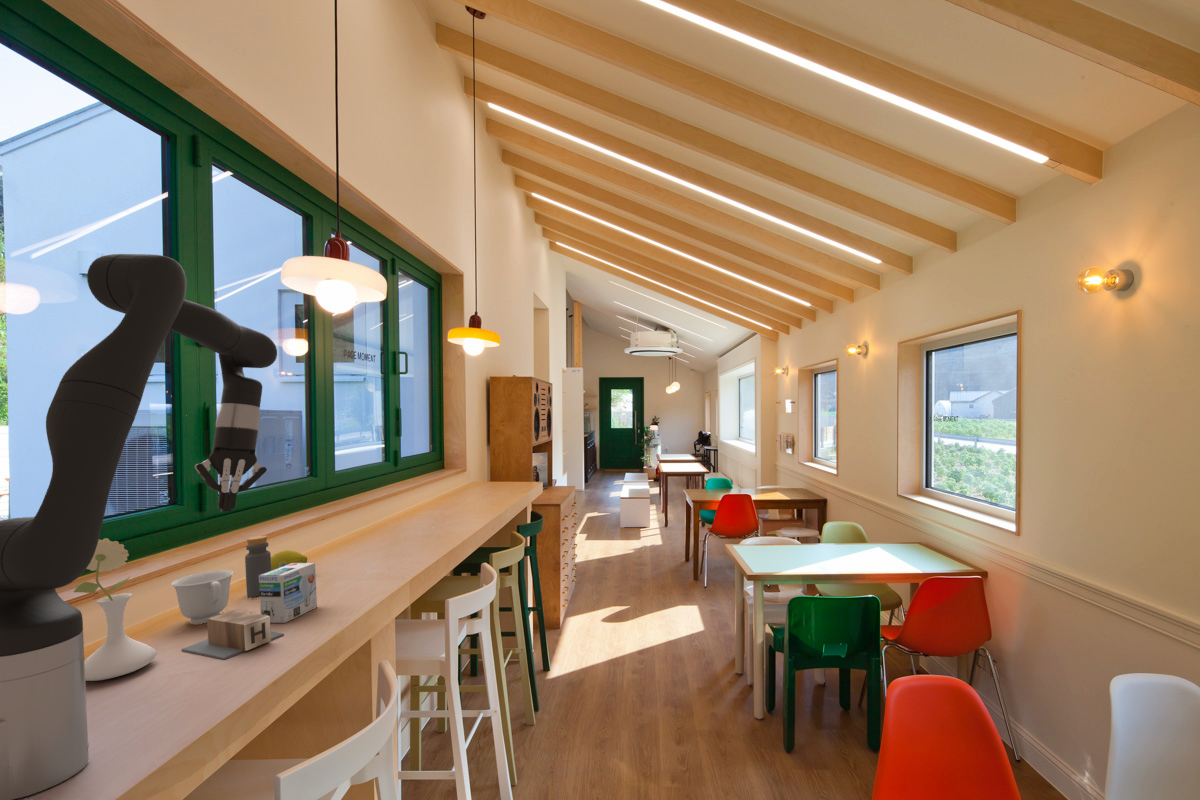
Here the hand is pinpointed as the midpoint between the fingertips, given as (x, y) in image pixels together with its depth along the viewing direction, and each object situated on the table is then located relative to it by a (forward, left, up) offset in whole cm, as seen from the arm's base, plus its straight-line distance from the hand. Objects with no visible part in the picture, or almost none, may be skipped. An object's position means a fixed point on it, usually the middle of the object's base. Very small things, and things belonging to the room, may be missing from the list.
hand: (225, 511), depth 114 cm
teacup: (+6, +22, -27) cm, 36 cm away
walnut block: (+1, -7, -24) cm, 25 cm away
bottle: (+23, +32, -27) cm, 48 cm away
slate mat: (+1, +1, -27) cm, 27 cm away
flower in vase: (-16, +8, -27) cm, 33 cm away
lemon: (+35, +40, -27) cm, 60 cm away
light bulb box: (+16, +6, -27) cm, 32 cm away
